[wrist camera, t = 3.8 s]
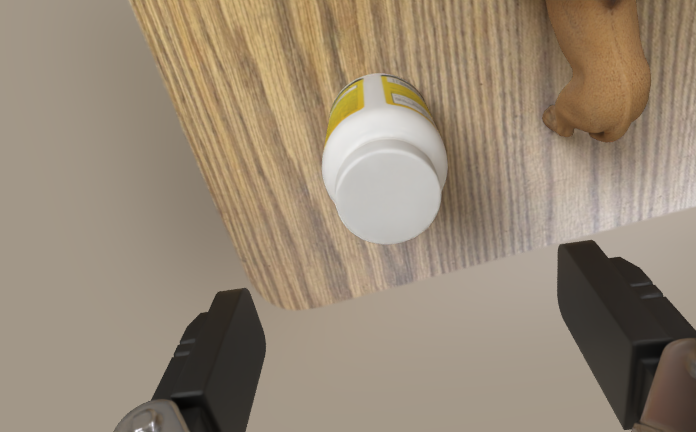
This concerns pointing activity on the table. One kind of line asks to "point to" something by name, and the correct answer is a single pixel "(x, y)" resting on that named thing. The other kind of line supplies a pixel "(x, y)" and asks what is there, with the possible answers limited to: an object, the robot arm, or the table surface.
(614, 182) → the table surface
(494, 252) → the table surface
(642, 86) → the lion figurine
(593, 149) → the table surface
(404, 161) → the supplement bottle
